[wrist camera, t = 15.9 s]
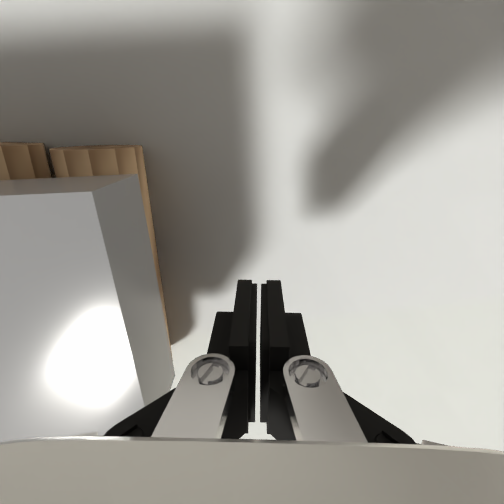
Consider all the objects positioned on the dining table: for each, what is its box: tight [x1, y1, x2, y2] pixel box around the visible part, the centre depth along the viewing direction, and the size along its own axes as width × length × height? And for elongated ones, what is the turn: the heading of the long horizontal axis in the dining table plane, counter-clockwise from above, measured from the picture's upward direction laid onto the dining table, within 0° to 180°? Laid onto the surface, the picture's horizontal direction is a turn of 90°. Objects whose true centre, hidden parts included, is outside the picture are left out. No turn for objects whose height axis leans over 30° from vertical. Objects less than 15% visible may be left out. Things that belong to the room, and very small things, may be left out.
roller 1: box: [0, 142, 51, 180], centre depth 15 cm, size 12×4×4 cm, turn 179°
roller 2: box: [49, 145, 173, 361], centre depth 15 cm, size 12×4×4 cm, turn 1°
